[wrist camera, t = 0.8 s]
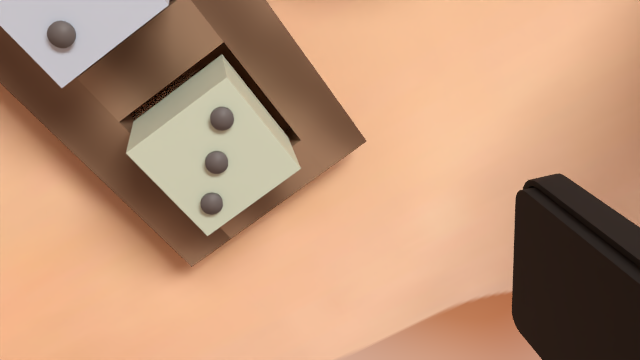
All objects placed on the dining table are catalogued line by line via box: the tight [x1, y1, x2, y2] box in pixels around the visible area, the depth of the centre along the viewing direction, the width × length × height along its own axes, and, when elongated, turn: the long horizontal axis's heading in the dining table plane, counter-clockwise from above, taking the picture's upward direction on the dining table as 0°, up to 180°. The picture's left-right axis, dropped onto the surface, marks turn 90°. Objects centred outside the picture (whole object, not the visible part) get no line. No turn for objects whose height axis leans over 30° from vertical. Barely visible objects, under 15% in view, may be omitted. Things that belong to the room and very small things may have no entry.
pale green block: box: [126, 55, 301, 236], centre depth 31 cm, size 6×6×5 cm
